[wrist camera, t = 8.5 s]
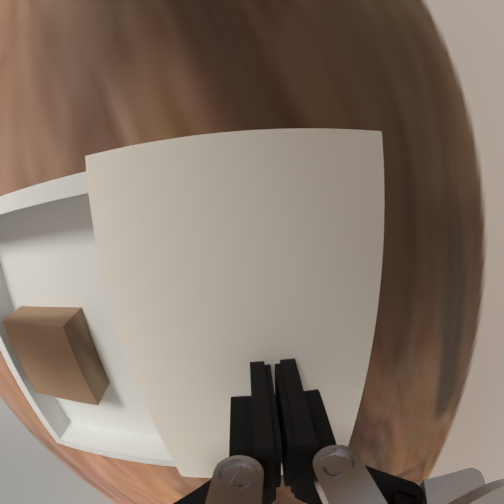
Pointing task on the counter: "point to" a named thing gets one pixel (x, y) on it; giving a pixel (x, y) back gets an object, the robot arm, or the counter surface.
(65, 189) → the box
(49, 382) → the walnut tile
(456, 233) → the counter surface
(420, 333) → the counter surface
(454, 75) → the counter surface
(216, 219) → the platform
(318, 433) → the robot arm
